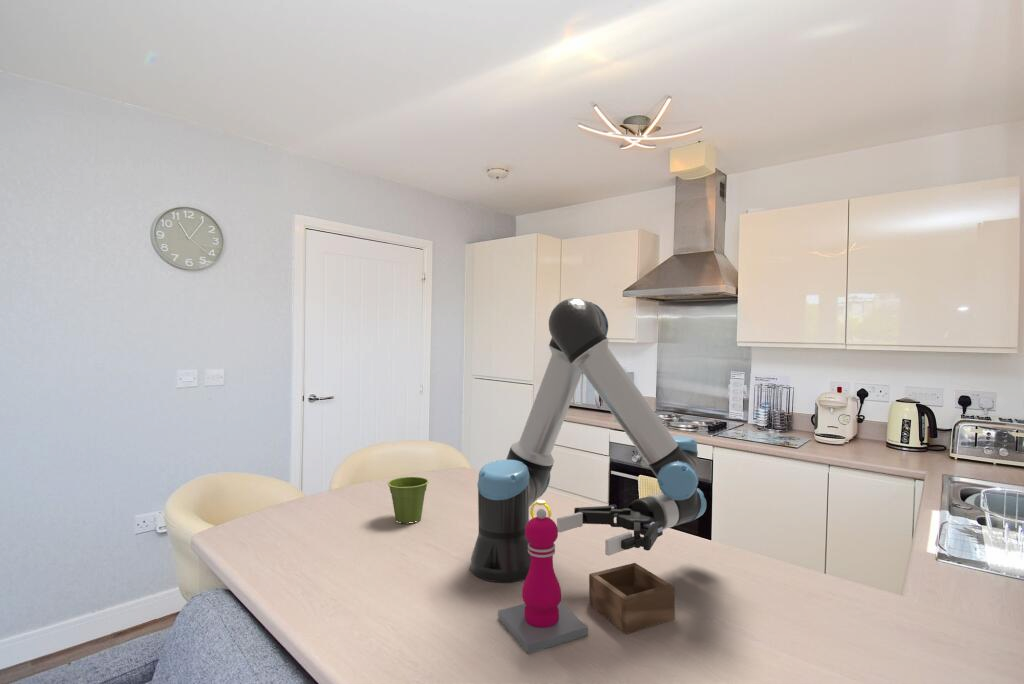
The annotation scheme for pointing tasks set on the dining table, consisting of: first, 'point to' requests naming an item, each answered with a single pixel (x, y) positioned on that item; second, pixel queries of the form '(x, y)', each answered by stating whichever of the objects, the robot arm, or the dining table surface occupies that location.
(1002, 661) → the dining table surface
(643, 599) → the walnut collar
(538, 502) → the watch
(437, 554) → the dining table surface
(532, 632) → the slate tile
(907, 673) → the dining table surface
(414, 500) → the plant pot
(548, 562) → the pepper mill
